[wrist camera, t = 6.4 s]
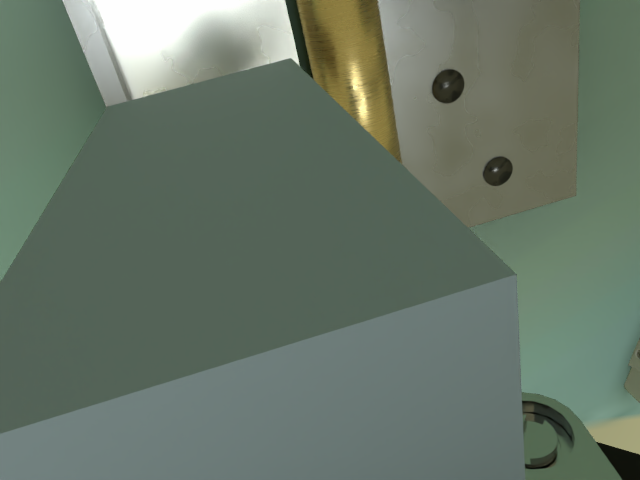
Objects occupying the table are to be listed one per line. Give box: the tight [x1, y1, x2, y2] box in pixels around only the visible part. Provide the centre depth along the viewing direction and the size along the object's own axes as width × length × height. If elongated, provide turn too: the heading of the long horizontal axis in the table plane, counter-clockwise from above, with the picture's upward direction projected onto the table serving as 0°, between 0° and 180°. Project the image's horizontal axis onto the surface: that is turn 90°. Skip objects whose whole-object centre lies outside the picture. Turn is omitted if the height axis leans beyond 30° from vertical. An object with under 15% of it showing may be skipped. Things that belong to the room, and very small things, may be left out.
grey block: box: [0, 58, 525, 480], centre depth 8 cm, size 3×10×7 cm, turn 13°
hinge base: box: [62, 0, 580, 228], centre depth 22 cm, size 18×19×3 cm
